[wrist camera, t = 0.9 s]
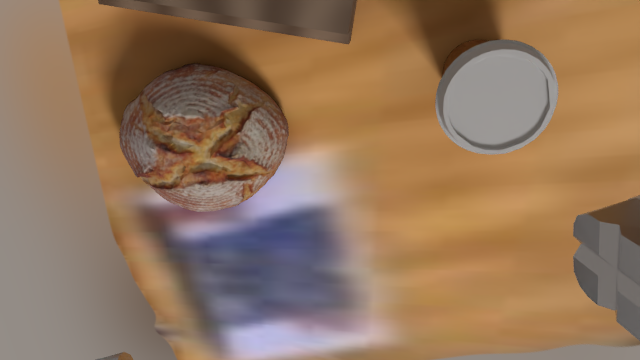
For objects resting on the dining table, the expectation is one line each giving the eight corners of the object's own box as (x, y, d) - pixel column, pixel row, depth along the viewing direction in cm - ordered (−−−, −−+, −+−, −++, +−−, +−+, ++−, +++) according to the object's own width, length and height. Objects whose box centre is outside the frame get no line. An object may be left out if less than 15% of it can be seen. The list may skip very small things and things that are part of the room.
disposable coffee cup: (500, 126, 50) (530, 173, 39) (414, 102, 50) (420, 141, 39) (540, 37, 46) (586, 62, 35) (446, 10, 46) (463, 27, 35)
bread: (313, 167, 56) (301, 211, 48) (173, 207, 61) (139, 254, 53) (257, 34, 50) (232, 58, 41) (105, 92, 55) (53, 124, 46)
